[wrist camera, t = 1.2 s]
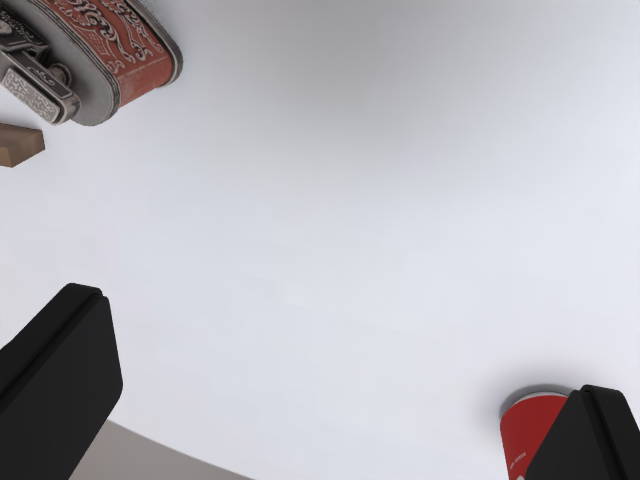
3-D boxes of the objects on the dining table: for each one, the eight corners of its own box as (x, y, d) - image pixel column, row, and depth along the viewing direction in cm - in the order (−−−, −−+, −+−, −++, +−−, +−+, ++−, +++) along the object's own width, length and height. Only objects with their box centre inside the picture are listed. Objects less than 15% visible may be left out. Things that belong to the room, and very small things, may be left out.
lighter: (39, -11, 26) (-141, 11, 18) (66, -67, 24) (-117, -73, 16) (162, 98, 28) (54, 165, 20) (195, 53, 26) (93, 104, 18)
